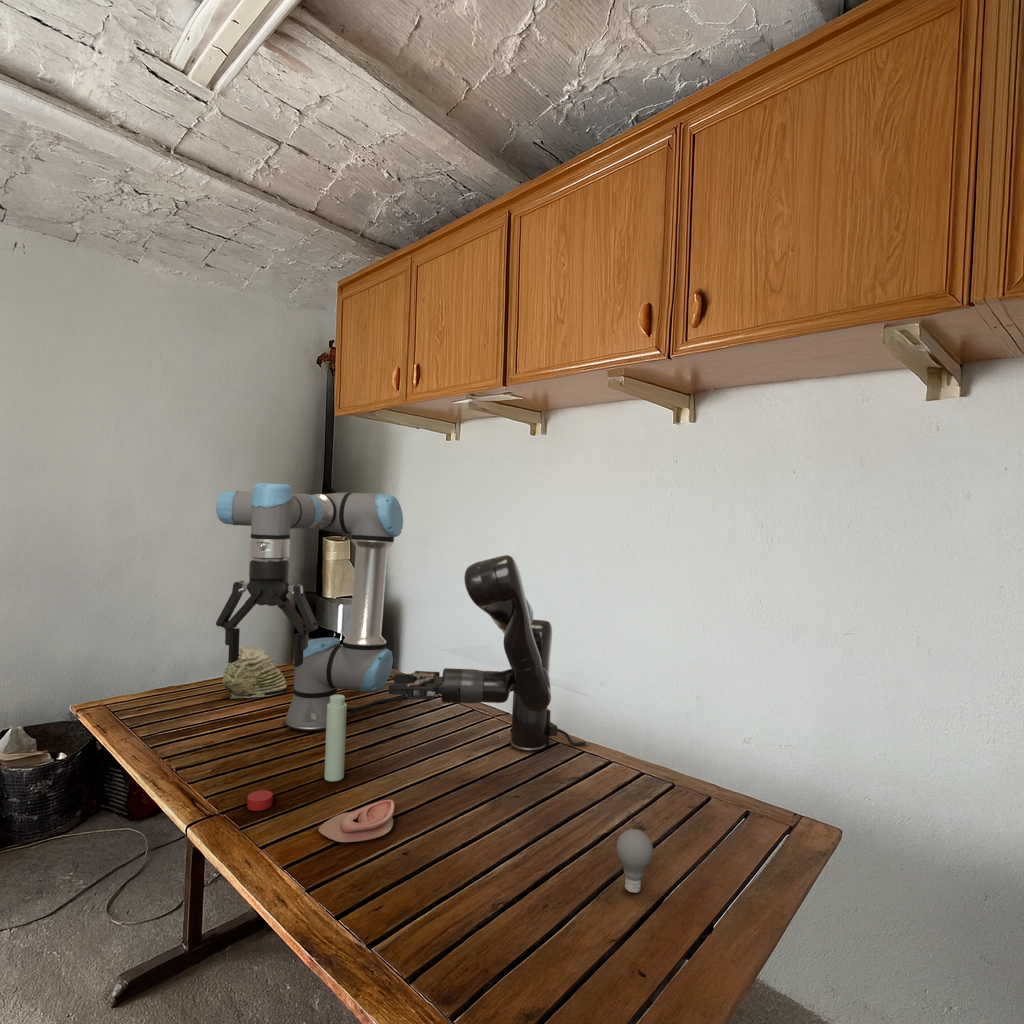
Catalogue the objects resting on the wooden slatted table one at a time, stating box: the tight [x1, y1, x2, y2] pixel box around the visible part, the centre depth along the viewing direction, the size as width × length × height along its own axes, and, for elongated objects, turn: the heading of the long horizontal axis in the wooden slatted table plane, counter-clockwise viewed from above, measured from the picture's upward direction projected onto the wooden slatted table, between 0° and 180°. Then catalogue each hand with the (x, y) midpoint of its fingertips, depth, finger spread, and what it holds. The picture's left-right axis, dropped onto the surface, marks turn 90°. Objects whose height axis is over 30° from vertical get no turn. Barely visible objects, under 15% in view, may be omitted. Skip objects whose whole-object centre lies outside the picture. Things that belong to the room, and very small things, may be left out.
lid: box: [246, 789, 274, 812], centre depth 129 cm, size 5×5×2 cm
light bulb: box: [615, 828, 654, 894], centre depth 106 cm, size 6×6×10 cm
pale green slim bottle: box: [323, 694, 348, 782], centre depth 143 cm, size 4×4×18 cm
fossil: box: [222, 646, 288, 699], centre depth 198 cm, size 9×18×15 cm, turn 132°
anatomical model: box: [317, 799, 395, 843], centre depth 122 cm, size 13×4×12 cm
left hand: (265, 663), depth 129 cm, fingers open, 13 cm apart
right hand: (391, 683), depth 143 cm, fingers open, 8 cm apart
